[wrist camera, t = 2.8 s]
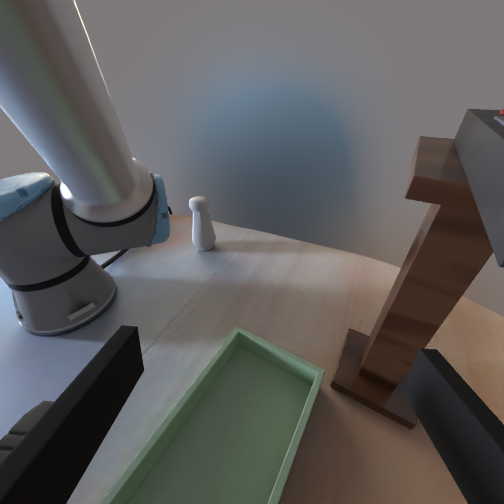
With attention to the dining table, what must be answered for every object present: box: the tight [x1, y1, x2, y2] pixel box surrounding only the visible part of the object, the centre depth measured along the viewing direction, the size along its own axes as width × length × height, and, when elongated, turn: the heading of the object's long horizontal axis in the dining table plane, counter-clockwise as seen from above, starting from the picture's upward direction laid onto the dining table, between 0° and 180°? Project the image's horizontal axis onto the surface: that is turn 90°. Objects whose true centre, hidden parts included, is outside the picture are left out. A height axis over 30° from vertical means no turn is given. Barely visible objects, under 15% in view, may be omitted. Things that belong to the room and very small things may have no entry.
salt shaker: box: [189, 196, 216, 251], centre depth 58 cm, size 6×6×13 cm
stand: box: [330, 136, 494, 429], centre depth 26 cm, size 14×10×30 cm
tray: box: [100, 326, 325, 504], centre depth 25 cm, size 29×14×4 cm, turn 149°
